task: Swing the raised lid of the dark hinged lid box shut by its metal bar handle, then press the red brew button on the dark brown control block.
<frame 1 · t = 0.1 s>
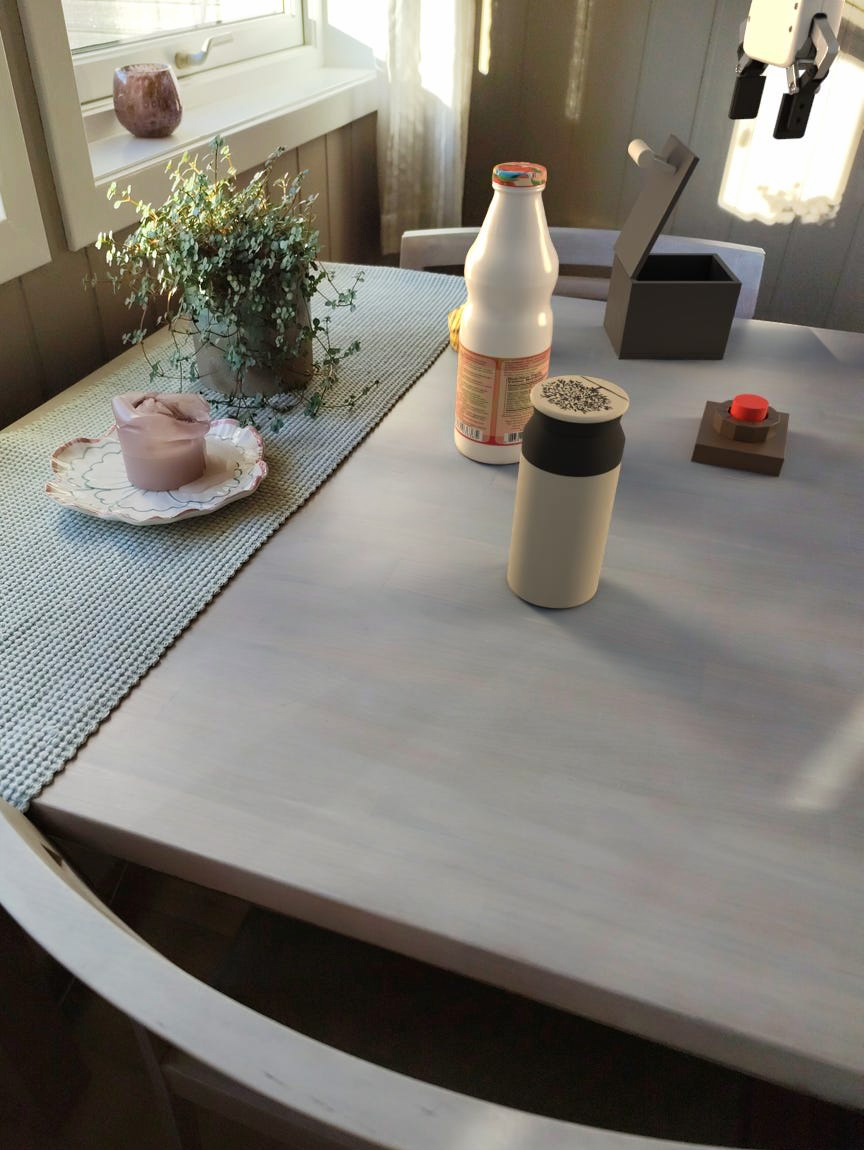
hand: (764, 128, 95), 28 cm above the table, tool pointing down, fingers open, 9 cm apart
dark hinged lid box: (660, 342, 121), on the table
travel mug: (551, 585, 80), on the table
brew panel: (738, 446, 99), on the table
brew button: (749, 408, 96), point 4 cm above the table, slide at 0.1 cm
fruit juice: (495, 447, 100), on the table
seashell: (479, 349, 120), on the table
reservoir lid: (635, 199, 110), point 18 cm above the table, hinge at 70.0°
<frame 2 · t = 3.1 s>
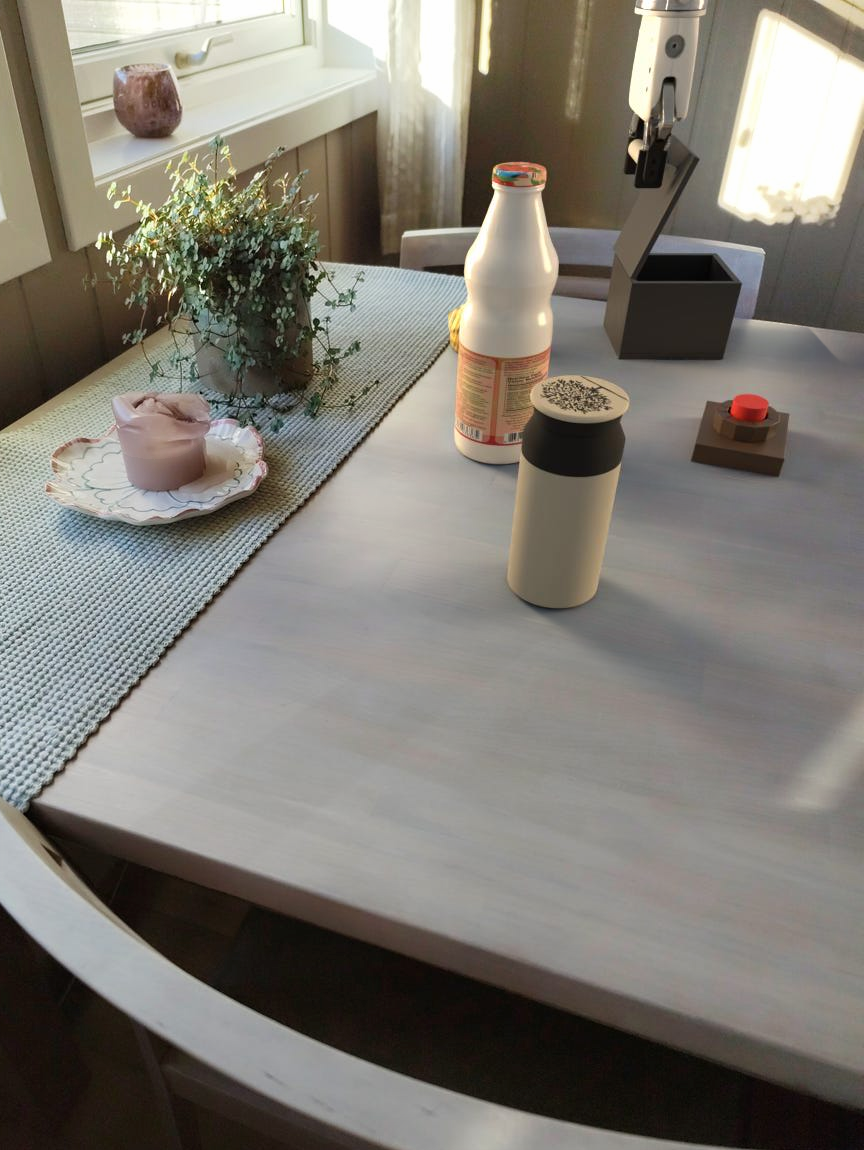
hand: (641, 179, 108), 20 cm above the table, tool pointing down, fingers closed on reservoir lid, 5 cm apart
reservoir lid: (635, 199, 110), point 18 cm above the table, hinge at 70.0°, touching gripper
everything else where it was.
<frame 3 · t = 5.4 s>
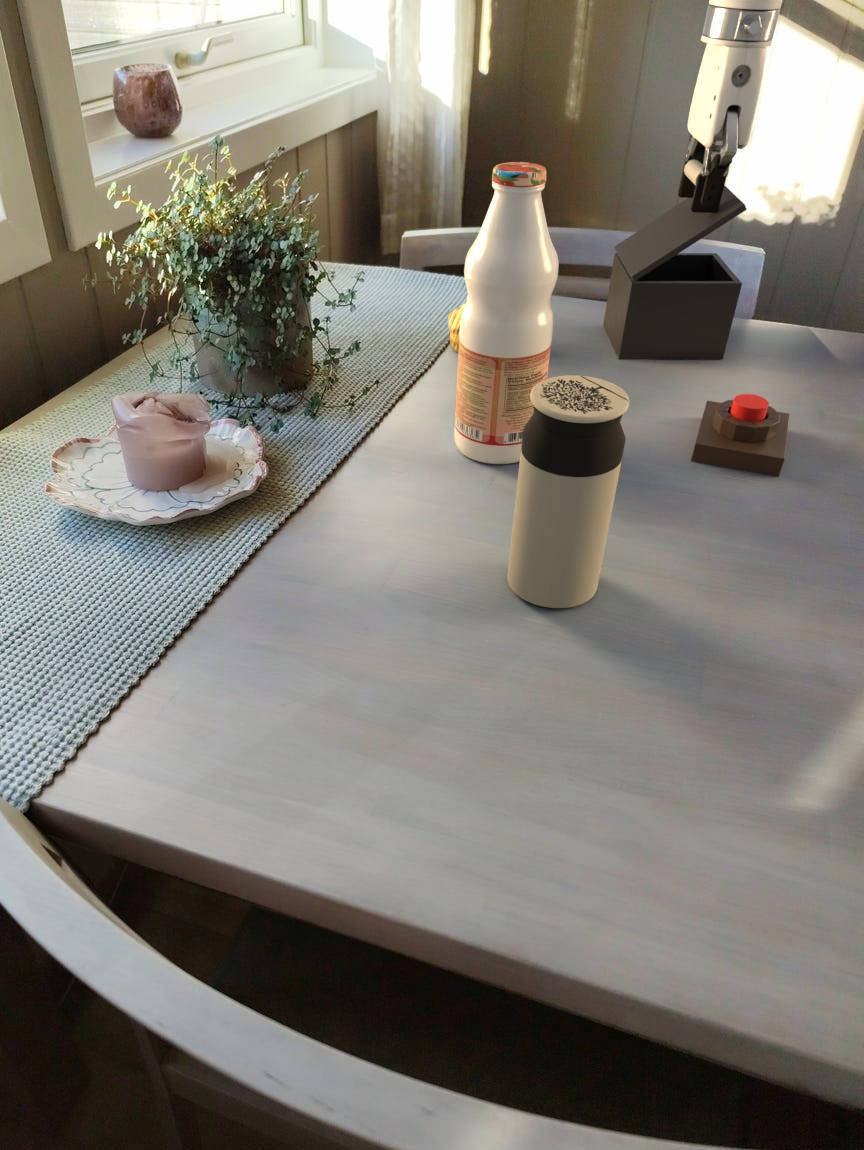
hand: (697, 202, 110), 18 cm above the table, tool pointing down, fingers closed on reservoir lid, 5 cm apart
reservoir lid: (668, 212, 110), point 16 cm above the table, hinge at 35.3°, touching gripper
everything else where it was.
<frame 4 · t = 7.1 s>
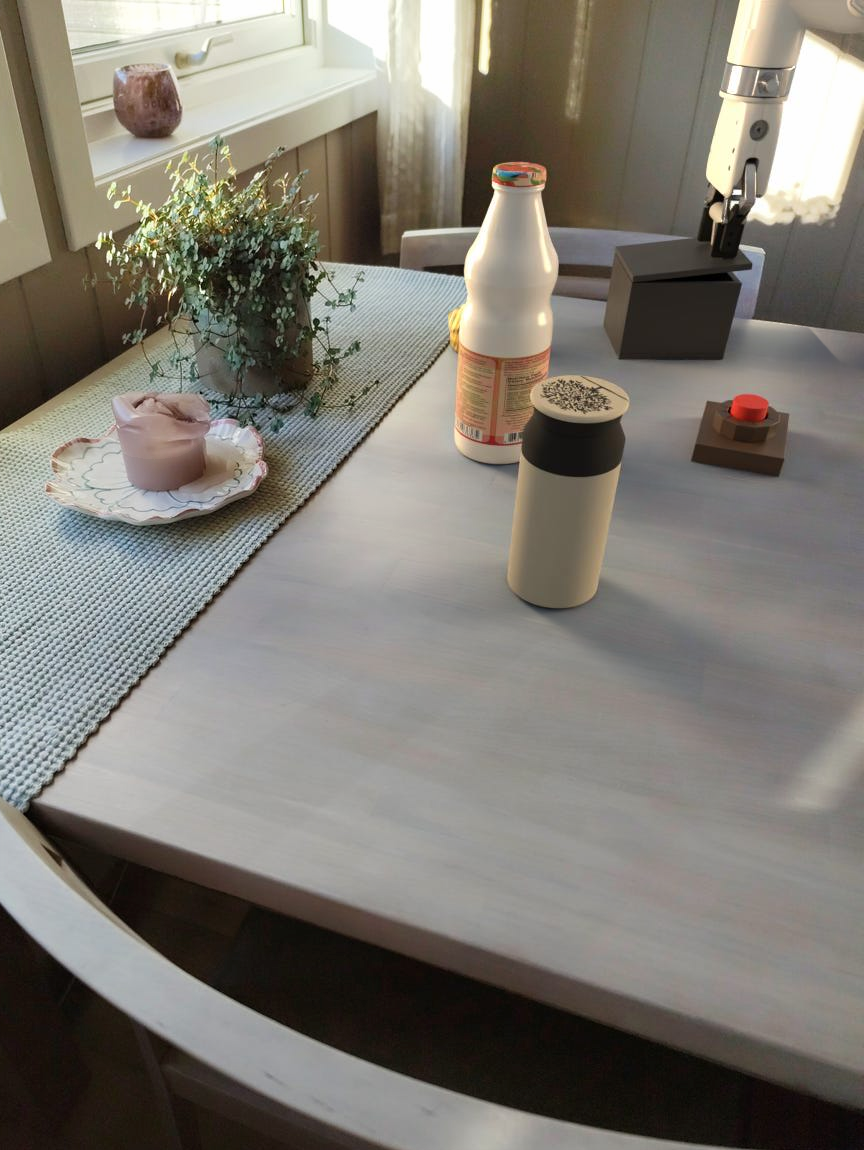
hand: (716, 247, 113), 12 cm above the table, tool pointing down, fingers closed on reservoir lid, 5 cm apart
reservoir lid: (682, 237, 112), point 14 cm above the table, hinge at 6.2°, touching gripper
everything else where it was.
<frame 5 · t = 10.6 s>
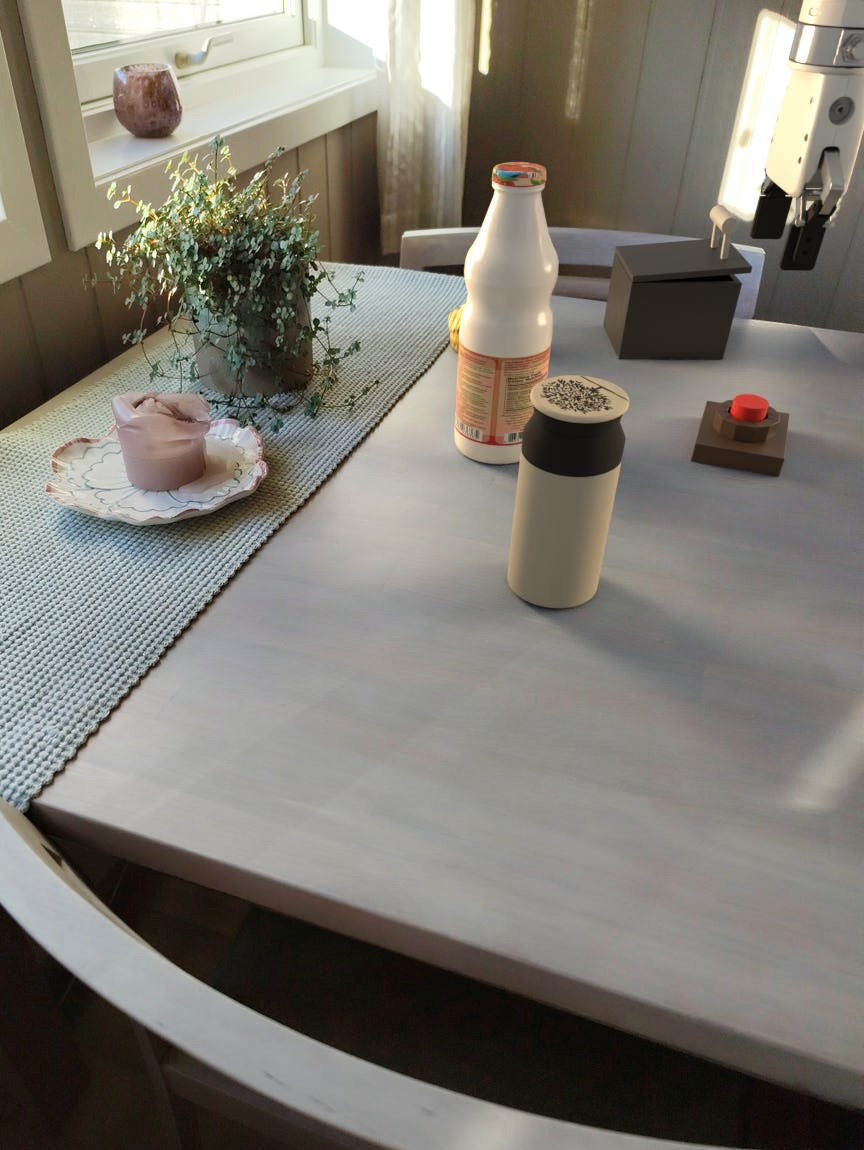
hand: (779, 253, 89), 19 cm above the table, tool pointing down, fingers open, 9 cm apart
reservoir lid: (683, 238, 112), point 13 cm above the table, hinge at 4.6°
everything else where it was.
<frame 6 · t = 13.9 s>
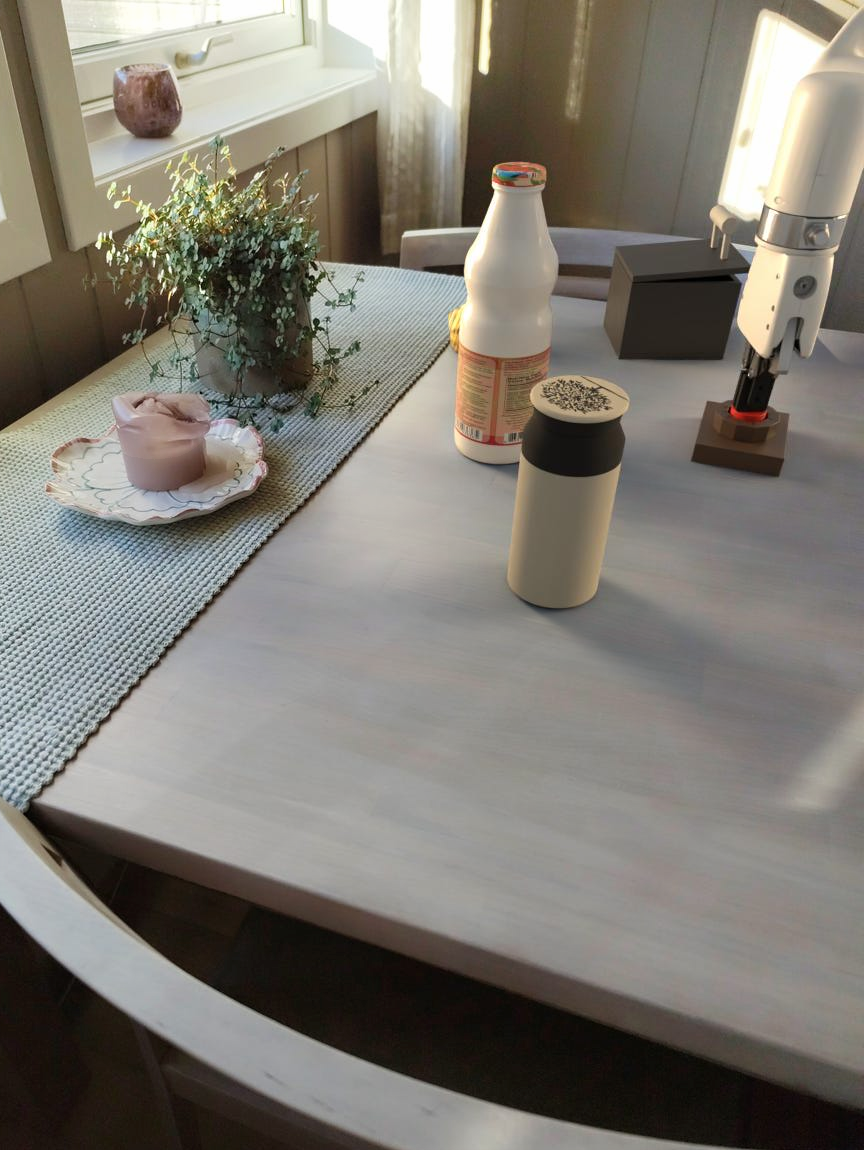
hand: (748, 408, 96), 5 cm above the table, tool pointing down, fingers closed
brew button: (747, 415, 97), point 4 cm above the table, slide at -0.7 cm, touching gripper
everything else where it was.
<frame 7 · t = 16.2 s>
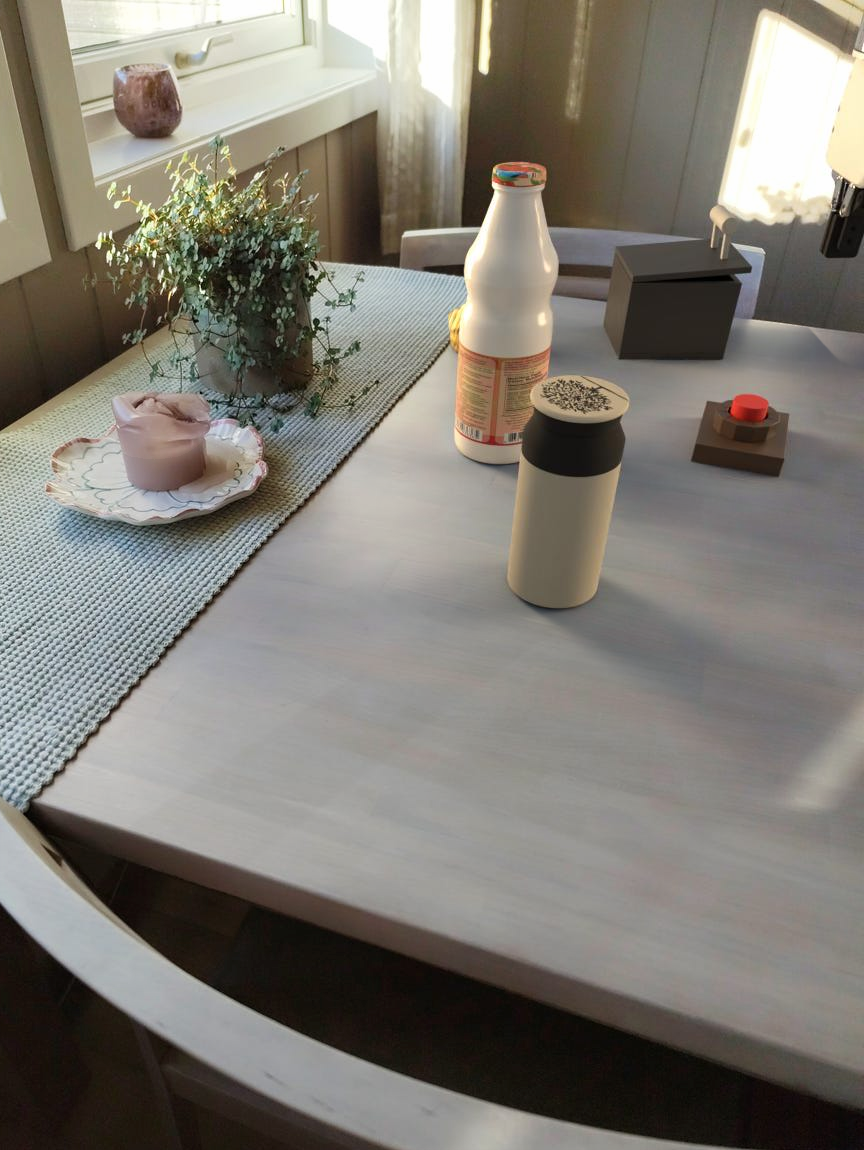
hand: (837, 254, 90), 19 cm above the table, tool pointing down, fingers closed
brew button: (749, 408, 96), point 4 cm above the table, slide at 0.1 cm
everything else where it was.
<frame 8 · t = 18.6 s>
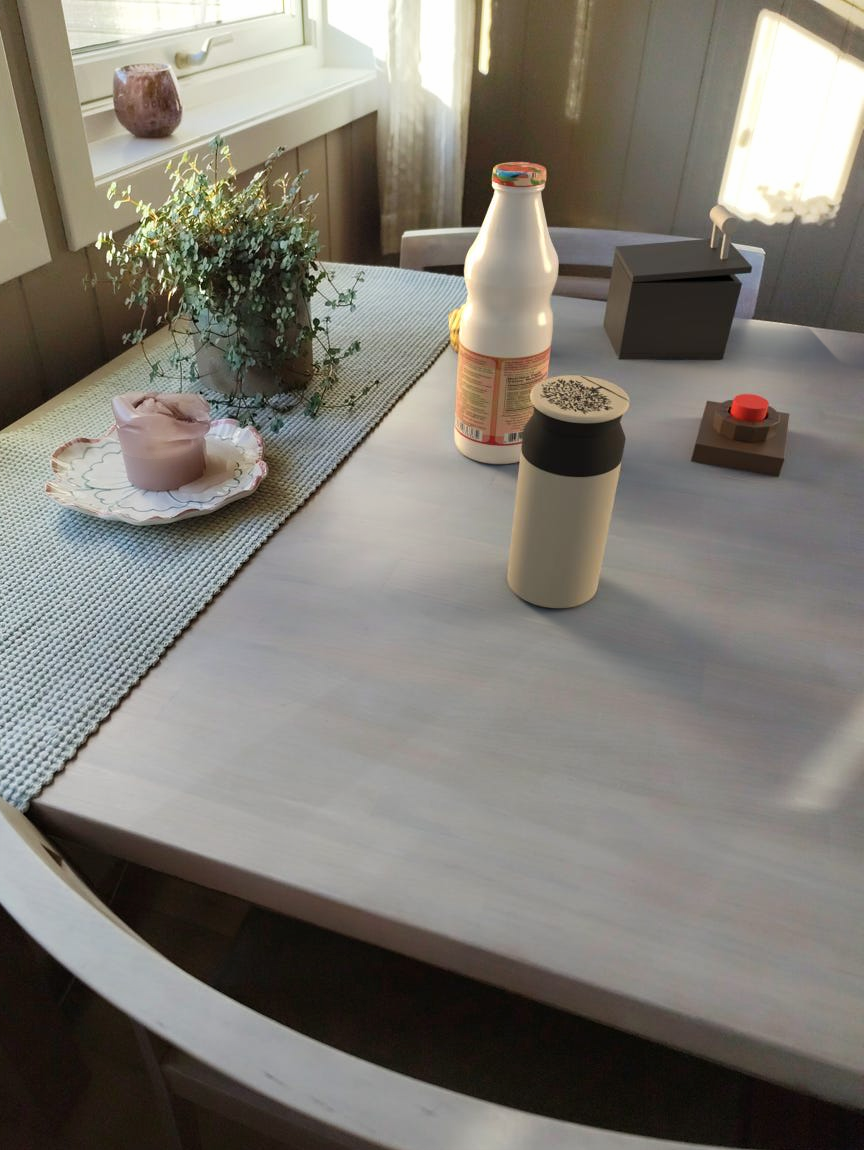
nothing on the table moved.
at the end: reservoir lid at +5° (first picture: +70°); brew button pushed in 1.1 cm at the most during the clip, back to where it started at the end; brew button slide at 0.1 cm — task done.
